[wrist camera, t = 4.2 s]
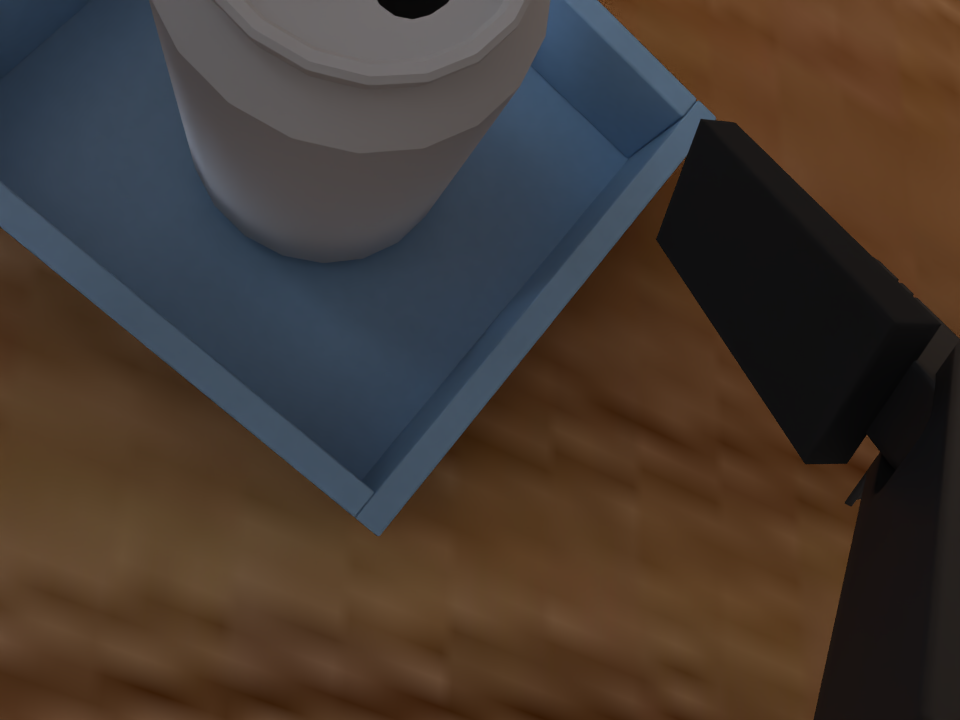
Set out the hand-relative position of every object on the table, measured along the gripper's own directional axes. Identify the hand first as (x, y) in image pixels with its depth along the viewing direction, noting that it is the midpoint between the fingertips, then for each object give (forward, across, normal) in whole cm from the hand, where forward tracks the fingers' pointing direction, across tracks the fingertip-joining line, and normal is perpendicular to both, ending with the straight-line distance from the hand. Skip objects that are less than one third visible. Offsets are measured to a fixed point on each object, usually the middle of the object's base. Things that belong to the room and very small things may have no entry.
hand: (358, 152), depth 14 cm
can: (+10, 0, -5) cm, 11 cm away
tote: (+10, 0, -5) cm, 11 cm away
